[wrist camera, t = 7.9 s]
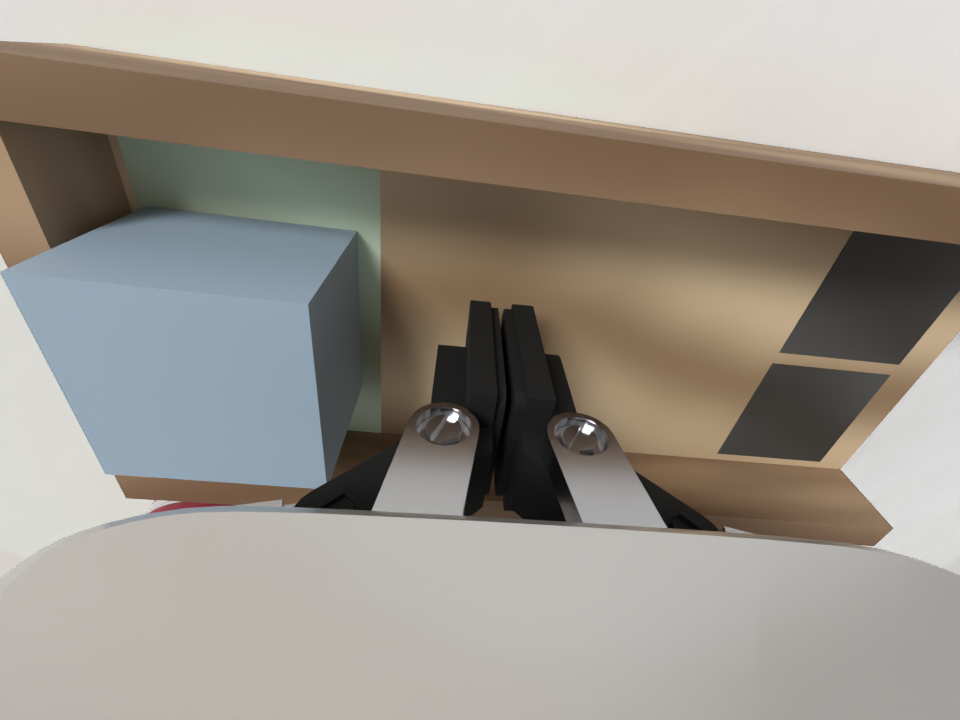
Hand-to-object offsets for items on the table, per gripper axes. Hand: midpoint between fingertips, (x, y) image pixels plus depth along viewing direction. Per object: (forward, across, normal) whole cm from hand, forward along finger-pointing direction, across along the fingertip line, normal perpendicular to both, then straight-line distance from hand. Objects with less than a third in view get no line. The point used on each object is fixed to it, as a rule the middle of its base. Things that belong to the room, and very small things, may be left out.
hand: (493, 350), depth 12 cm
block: (+1, +6, 0) cm, 6 cm away
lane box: (+2, -2, 0) cm, 3 cm away
